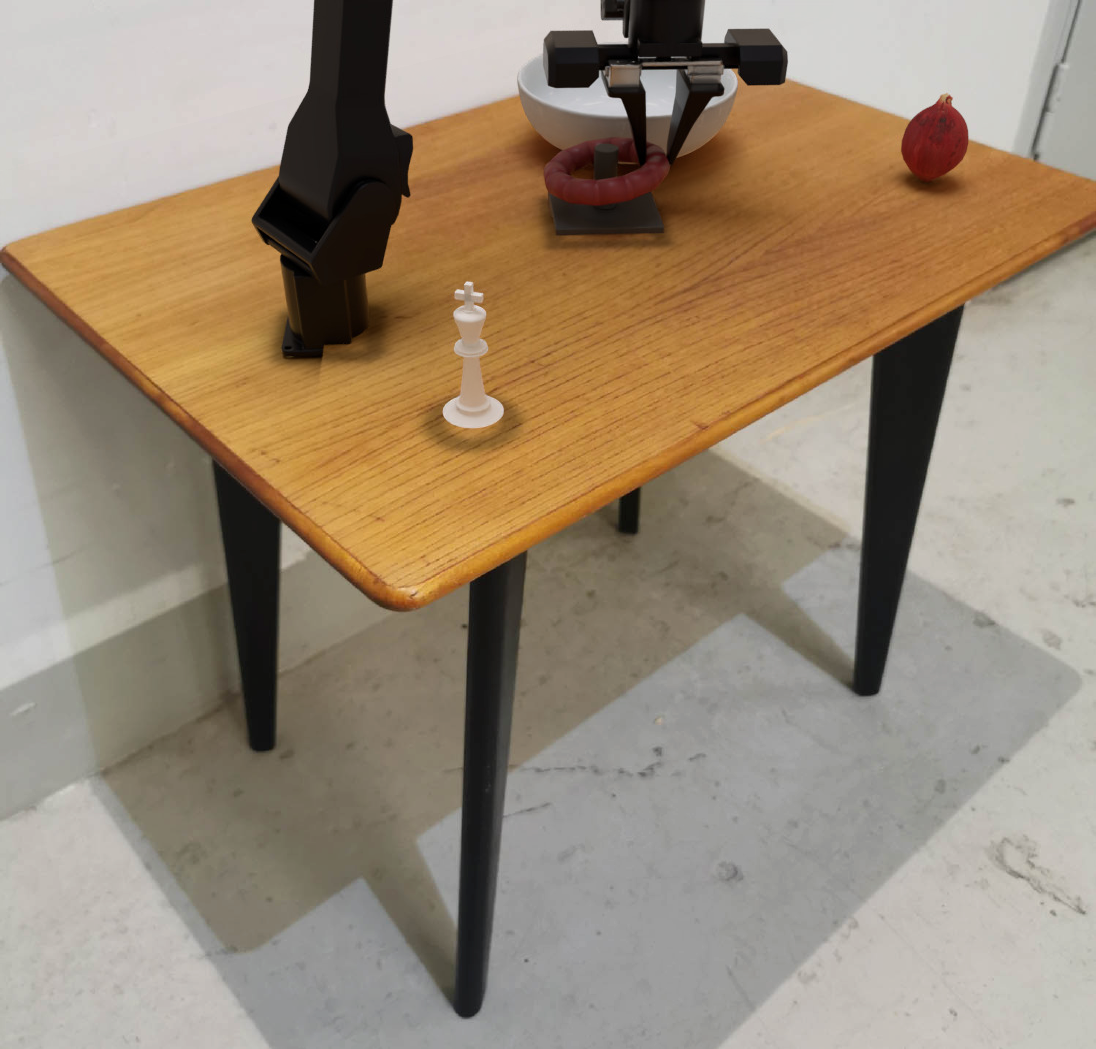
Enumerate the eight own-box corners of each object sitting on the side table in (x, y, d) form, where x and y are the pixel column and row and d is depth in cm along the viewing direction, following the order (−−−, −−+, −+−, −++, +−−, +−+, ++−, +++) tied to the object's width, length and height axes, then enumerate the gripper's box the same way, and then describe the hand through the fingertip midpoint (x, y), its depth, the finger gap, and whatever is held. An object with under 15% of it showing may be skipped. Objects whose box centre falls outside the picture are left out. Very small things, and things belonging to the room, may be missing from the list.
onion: (955, 198, 102) (978, 109, 97) (890, 189, 103) (909, 101, 98) (959, 174, 106) (981, 88, 101) (896, 166, 107) (915, 80, 102)
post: (663, 243, 94) (669, 168, 90) (555, 246, 93) (557, 170, 89) (647, 199, 101) (652, 127, 97) (547, 201, 100) (548, 128, 96)
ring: (678, 197, 91) (677, 173, 89) (551, 217, 91) (547, 194, 90) (658, 148, 99) (657, 126, 97) (541, 167, 99) (538, 145, 98)
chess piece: (451, 396, 76) (444, 259, 69) (521, 409, 74) (520, 271, 68) (424, 437, 72) (414, 296, 66) (497, 450, 71) (494, 309, 64)
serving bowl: (474, 142, 111) (471, 70, 106) (623, 95, 122) (627, 28, 117) (623, 209, 99) (628, 132, 95) (774, 151, 110) (784, 79, 106)
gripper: (768, -65, 91) (744, 127, 101) (538, -64, 90) (537, 130, 100) (803, -30, 82) (773, 176, 92) (549, -28, 81) (547, 180, 91)
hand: (655, 163), depth 94 cm, fingers closed on ring, 2 cm apart
